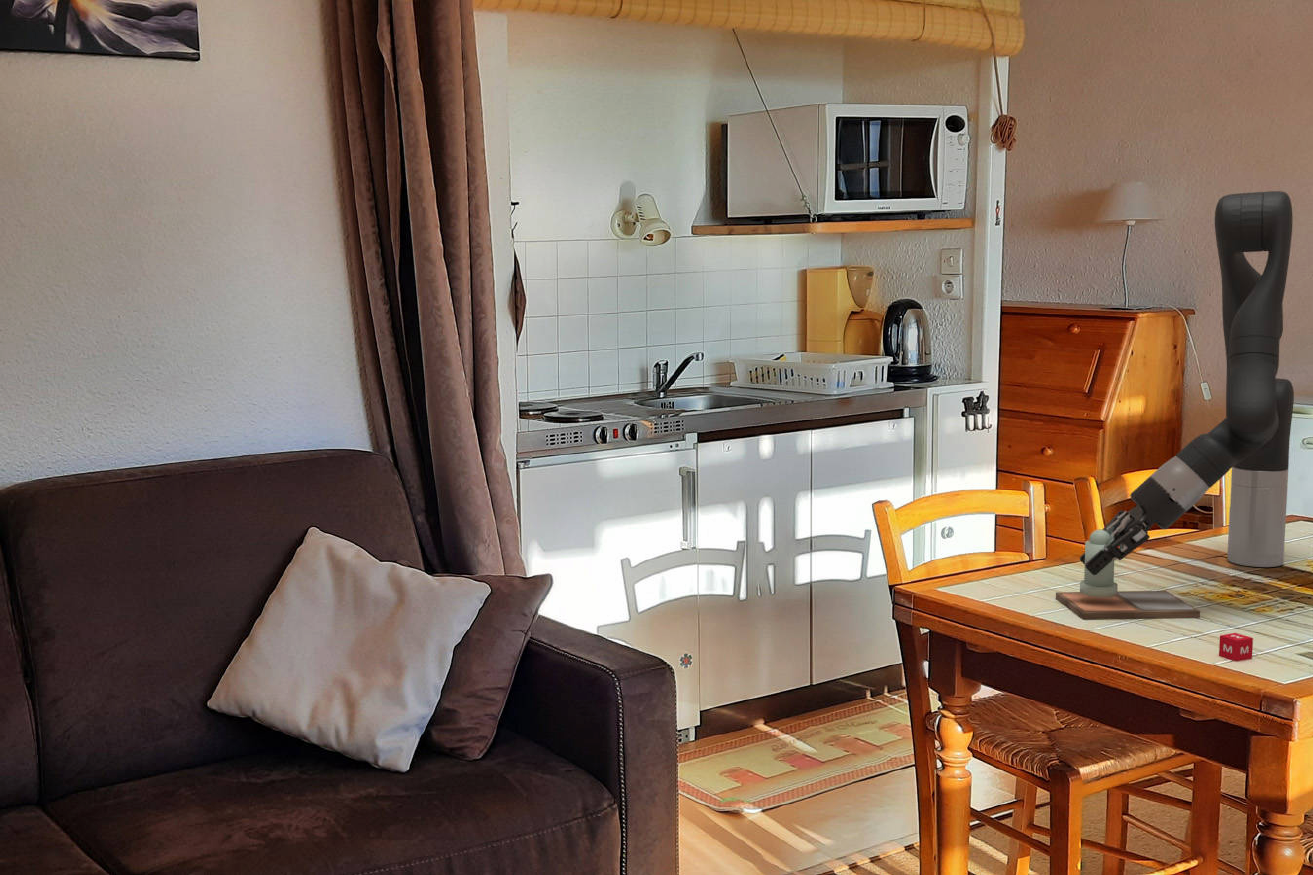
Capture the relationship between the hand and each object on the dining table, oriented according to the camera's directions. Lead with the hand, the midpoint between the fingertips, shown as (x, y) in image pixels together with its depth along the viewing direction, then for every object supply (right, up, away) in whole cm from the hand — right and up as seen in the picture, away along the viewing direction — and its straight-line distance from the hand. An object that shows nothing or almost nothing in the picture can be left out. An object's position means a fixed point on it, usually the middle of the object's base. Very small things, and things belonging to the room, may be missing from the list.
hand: (1086, 566), depth 213 cm
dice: (+12, -10, -26) cm, 30 cm away
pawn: (+2, -4, 0) cm, 5 cm away
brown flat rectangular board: (+6, -7, +1) cm, 9 cm away
